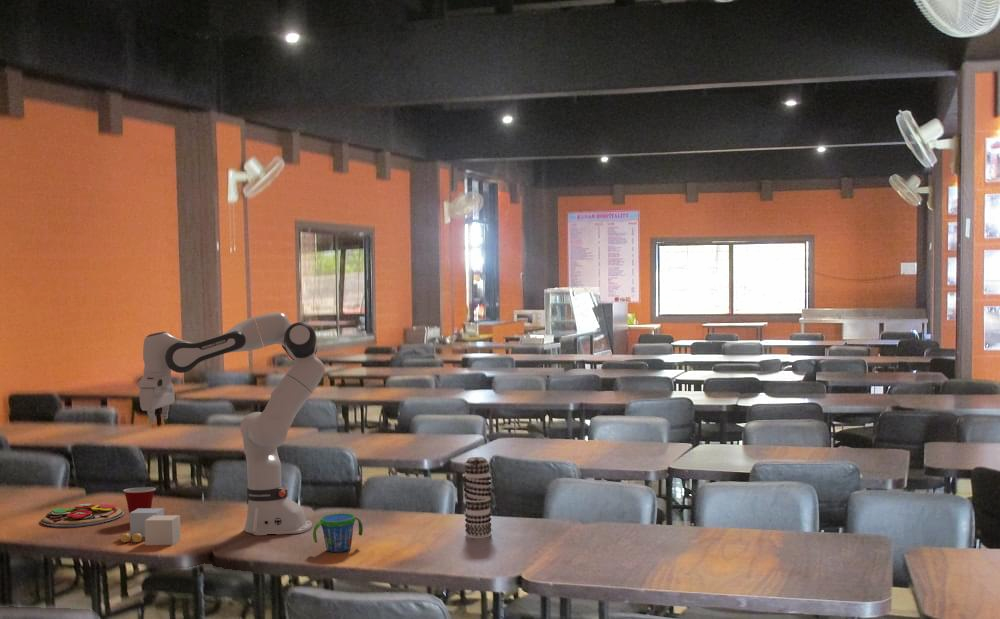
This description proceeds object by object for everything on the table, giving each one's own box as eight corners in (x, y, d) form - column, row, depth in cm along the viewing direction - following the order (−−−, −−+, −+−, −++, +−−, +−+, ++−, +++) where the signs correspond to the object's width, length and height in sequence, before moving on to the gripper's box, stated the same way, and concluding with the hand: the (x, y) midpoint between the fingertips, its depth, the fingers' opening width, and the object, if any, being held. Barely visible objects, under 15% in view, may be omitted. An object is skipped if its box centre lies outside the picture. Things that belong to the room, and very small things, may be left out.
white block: (164, 531, 329) (164, 508, 329) (156, 536, 323) (156, 512, 323) (138, 532, 330) (138, 508, 330) (130, 537, 324) (129, 512, 323)
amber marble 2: (143, 541, 318) (143, 532, 318) (139, 543, 315) (139, 534, 315) (134, 541, 318) (134, 532, 318) (130, 543, 315) (130, 534, 315)
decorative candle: (474, 540, 311) (472, 462, 310) (459, 534, 318) (457, 458, 318) (498, 535, 316) (496, 458, 315) (482, 529, 323) (481, 454, 323)
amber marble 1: (132, 541, 318) (132, 532, 318) (128, 543, 315) (128, 534, 315) (123, 541, 318) (123, 532, 318) (119, 543, 315) (119, 534, 315)
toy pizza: (78, 532, 333) (78, 519, 333) (22, 525, 345) (22, 512, 345) (140, 514, 358) (140, 502, 358) (86, 508, 370) (86, 496, 370)
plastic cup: (162, 518, 349) (161, 484, 348) (148, 526, 338) (147, 491, 338) (133, 518, 350) (132, 484, 350) (118, 525, 339) (117, 491, 339)
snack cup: (317, 557, 295) (316, 523, 295) (309, 548, 305) (308, 516, 304) (367, 550, 301) (367, 517, 301) (358, 542, 311) (357, 510, 310)
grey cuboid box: (180, 539, 319) (179, 515, 318) (172, 545, 312) (172, 520, 312) (153, 539, 319) (153, 515, 319) (145, 545, 313) (144, 520, 313)
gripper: (161, 377, 342) (162, 416, 343) (135, 383, 322) (136, 425, 322) (178, 376, 342) (179, 416, 342) (154, 383, 322) (155, 424, 322)
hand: (158, 420), depth 332 cm, fingers open, 8 cm apart
